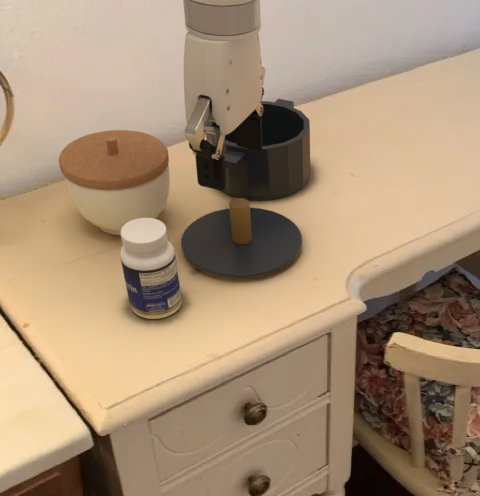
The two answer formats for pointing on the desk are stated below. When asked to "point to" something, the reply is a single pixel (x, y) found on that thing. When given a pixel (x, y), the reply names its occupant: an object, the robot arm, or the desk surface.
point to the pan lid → (241, 241)
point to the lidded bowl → (116, 177)
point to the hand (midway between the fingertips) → (231, 166)
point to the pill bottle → (150, 268)
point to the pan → (269, 155)
